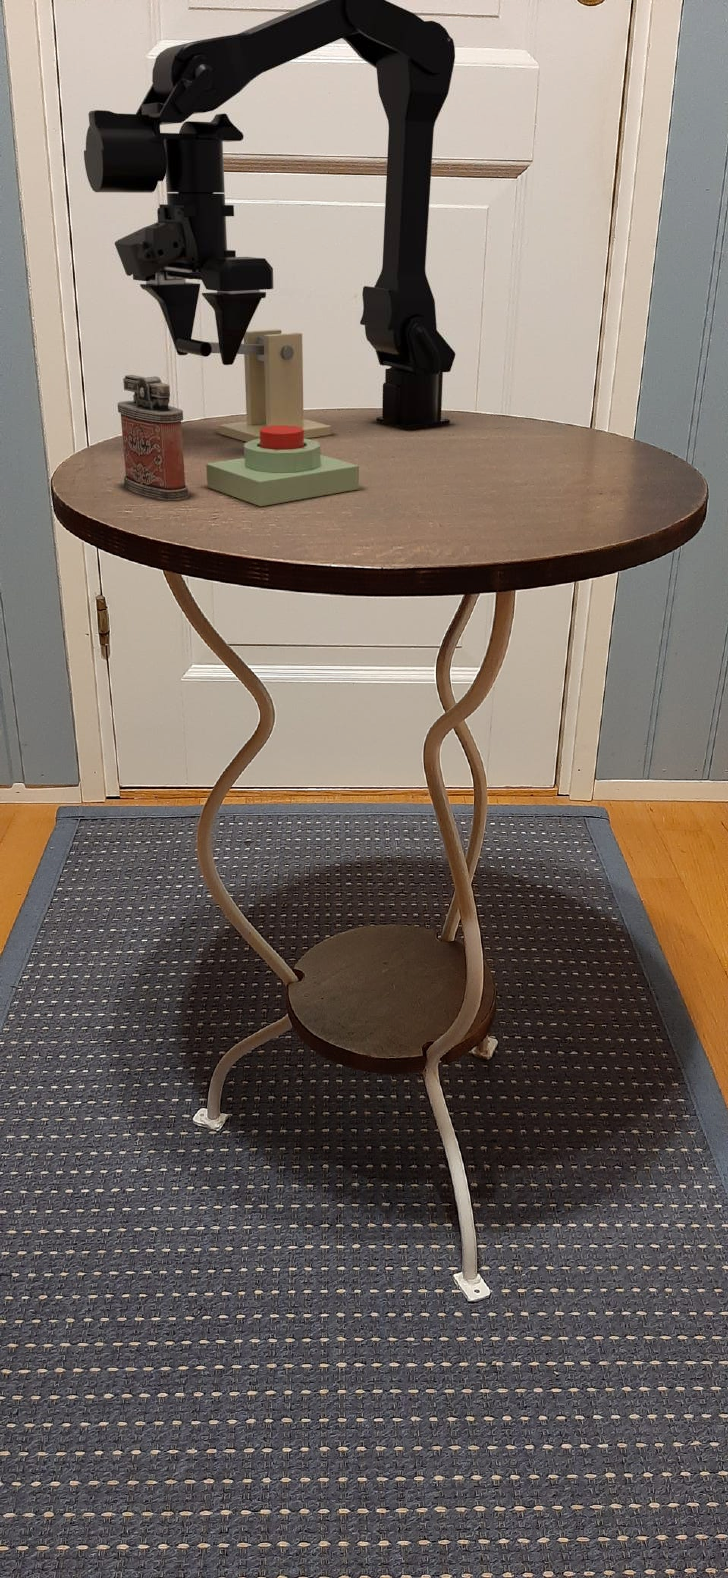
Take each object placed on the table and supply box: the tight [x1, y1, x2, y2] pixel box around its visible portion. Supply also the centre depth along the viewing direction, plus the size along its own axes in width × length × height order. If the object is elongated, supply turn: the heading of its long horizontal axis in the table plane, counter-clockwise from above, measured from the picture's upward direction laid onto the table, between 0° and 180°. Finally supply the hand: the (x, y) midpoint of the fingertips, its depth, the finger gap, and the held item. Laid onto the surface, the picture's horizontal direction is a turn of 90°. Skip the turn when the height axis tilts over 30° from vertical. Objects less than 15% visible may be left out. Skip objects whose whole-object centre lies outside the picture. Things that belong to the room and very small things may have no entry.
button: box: [260, 425, 304, 450], centre depth 105 cm, size 4×4×2 cm
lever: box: [176, 337, 264, 362], centre depth 123 cm, size 12×5×2 cm, turn 128°
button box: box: [205, 438, 360, 507], centre depth 106 cm, size 11×9×4 cm
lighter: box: [117, 374, 189, 501], centre depth 103 cm, size 8×3×10 cm, turn 43°
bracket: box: [218, 328, 332, 443], centre depth 128 cm, size 10×8×11 cm
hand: (204, 359), depth 121 cm, fingers open, 9 cm apart
